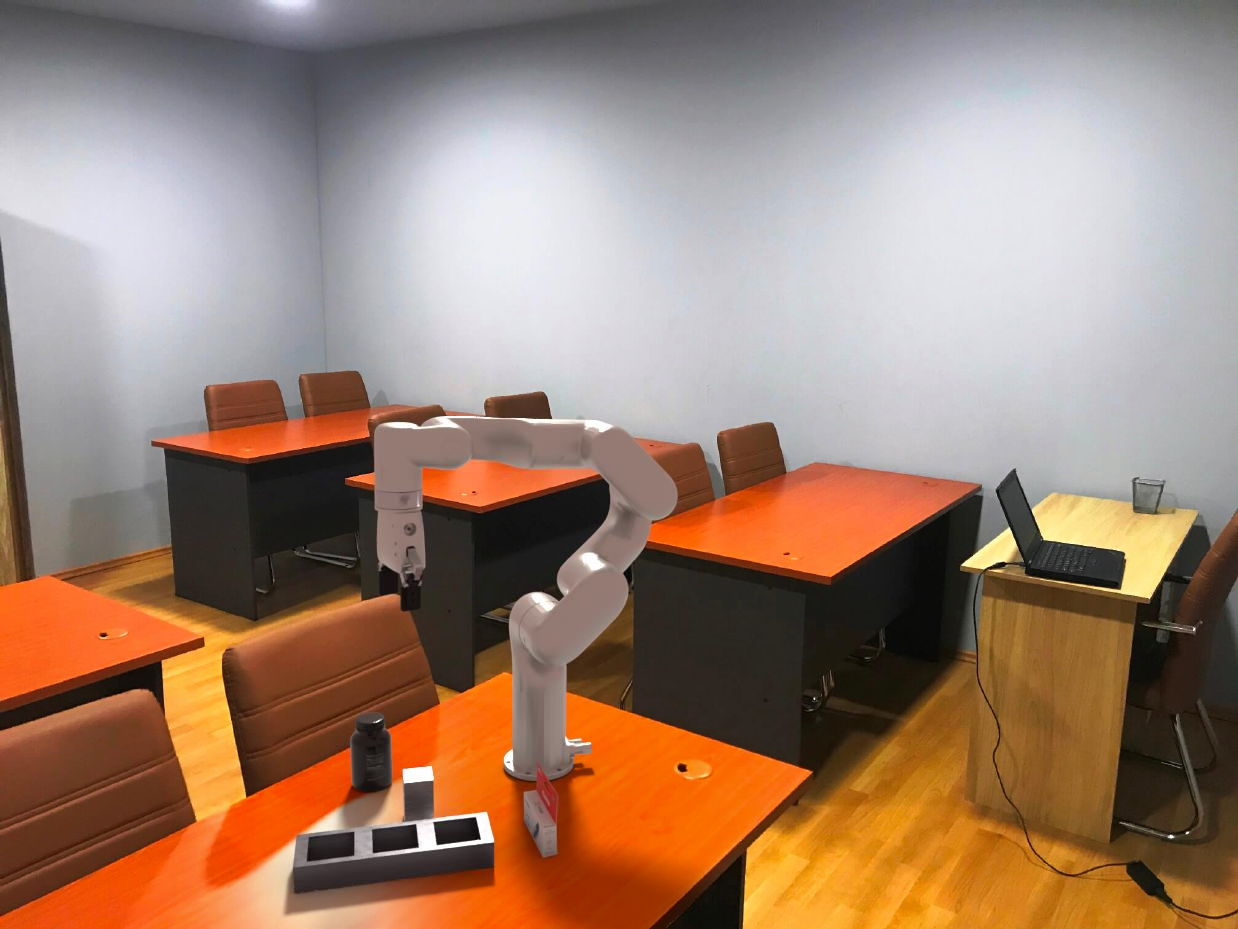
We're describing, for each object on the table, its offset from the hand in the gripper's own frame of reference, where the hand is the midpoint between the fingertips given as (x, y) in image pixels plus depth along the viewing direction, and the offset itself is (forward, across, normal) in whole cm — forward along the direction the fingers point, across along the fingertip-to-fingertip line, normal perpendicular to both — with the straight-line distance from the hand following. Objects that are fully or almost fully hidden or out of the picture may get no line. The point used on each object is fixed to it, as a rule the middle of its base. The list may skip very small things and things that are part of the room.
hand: (399, 601), depth 157 cm
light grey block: (+33, -11, +1) cm, 35 cm away
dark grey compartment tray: (+33, -20, +9) cm, 40 cm away
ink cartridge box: (+33, -25, -13) cm, 44 cm away
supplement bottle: (+33, +4, +3) cm, 34 cm away
